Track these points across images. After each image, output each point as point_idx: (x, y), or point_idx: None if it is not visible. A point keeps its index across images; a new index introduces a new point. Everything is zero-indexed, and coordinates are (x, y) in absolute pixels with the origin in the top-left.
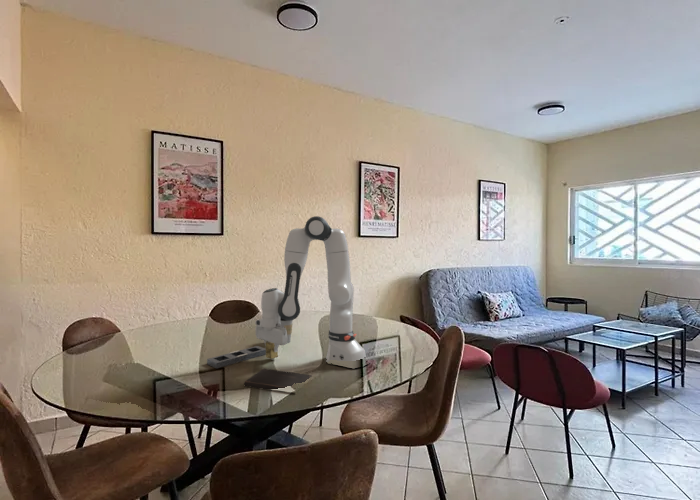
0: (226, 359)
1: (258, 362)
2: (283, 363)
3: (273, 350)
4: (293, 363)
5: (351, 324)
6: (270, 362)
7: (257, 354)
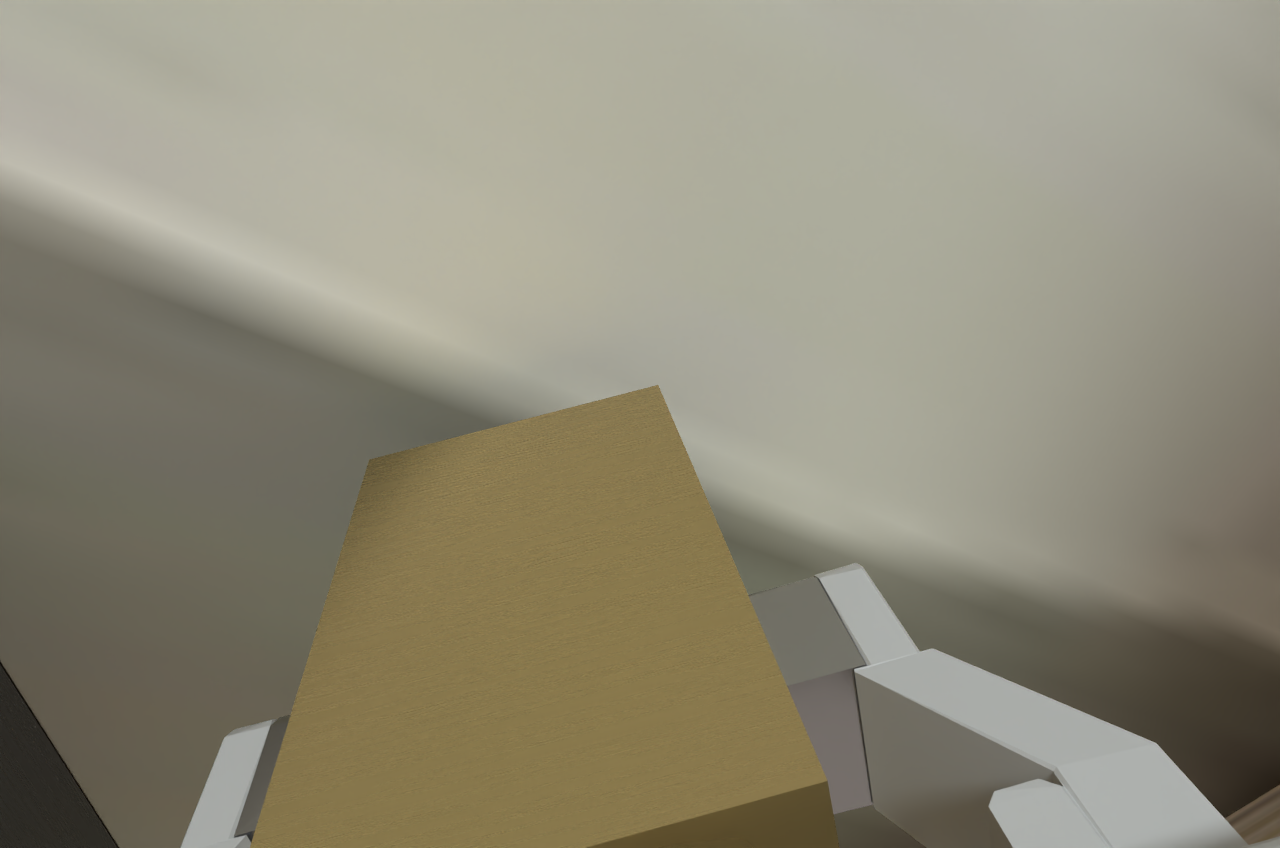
0: None
1: None
2: (1001, 330)
3: None
4: (1210, 70)
5: None
6: None
7: (15, 792)
